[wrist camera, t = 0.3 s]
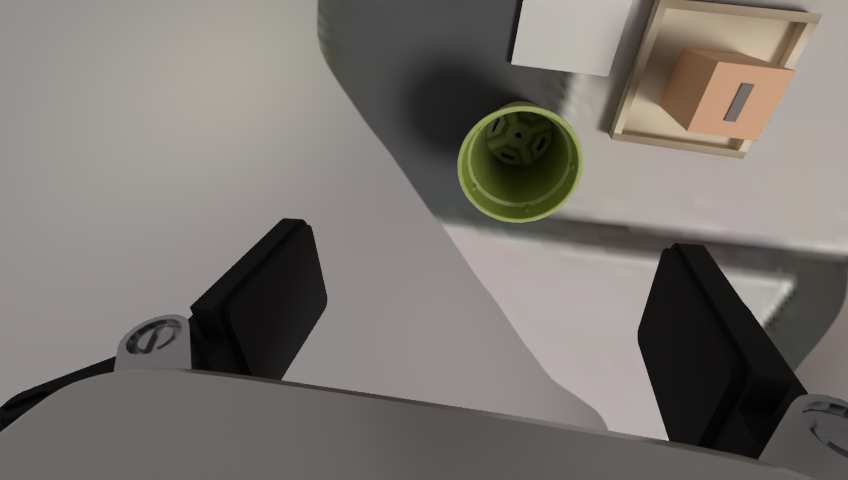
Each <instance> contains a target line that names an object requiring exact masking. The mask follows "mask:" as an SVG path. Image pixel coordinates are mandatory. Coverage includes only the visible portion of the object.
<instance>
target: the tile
mask: <svg viewBox="0 0 848 480" xmlns="http://www.w3.org/2000/svg"><path fill="white" fill-rule="evenodd" d="M631 3H632V0H523V4H522V10H521V15H520V20H519V25H518V31H517V36H516V41H515V46H514V52H513V57H512V62H511V64H513V65H521V66H529V67H537V68H544V69H552V70H560V71H568V72H575V73H583V74H591V75H599V76H607V77H608V75H609V72H610V69H611V66H612V63H613V60H614V57H615V53H616V50H617V47H618V44H619V41H620V38H621V35H622V31H623V28H624V25H625V22H626V19H627V16H628V13H629V10H630V6H631Z"/></svg>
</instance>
